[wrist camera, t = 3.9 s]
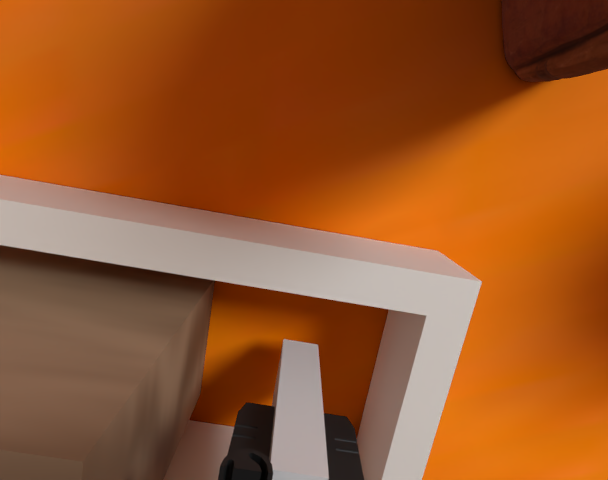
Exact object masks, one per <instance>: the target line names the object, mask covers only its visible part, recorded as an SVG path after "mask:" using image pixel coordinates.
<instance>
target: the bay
mask: <svg viewBox="0 0 608 480" xmlns="http://www.w3.org/2000/svg"><path fill="white" fill-rule="evenodd" d="M0 245H4V246H10V247H16V248H22V249H28V250H34V251H40V252H46V253H52V254H58V255H64V256H70V257H76V258H82V259H88V260H94V261H100V262H106V263H112V264H118V265H124V266H130V267H136V268H143V269H149V270H155V271H161V272H167V273H173V274H179V275H185V276H191V277H197V278H203V279H209V280H215V281H221V282H227V283H233V284H239V285H245V286H251V287H257V288H263V289H269V290H275V291H281V292H287V293H293V294H299V295H305V296H311V297H317V298H323V299H329V300H336V301H342V302H348V303H354V304H360V305H366V306H372V307H378V308H384V309H389V311H388V315H387V319H386V323H385V327H384V331H383V335H382V339H381V343H380V347H379V351H378V355H377V359H376V363H375V367H374V371H373V375H372V379H371V383H370V387H369V391H368V395H367V399H366V403H365V408H364V412H363V416H362V420H361V424H360V428H359V432H358V436H357V445H358V450H359V455H360V460H361V466H362V471H363V476H364V480H422V477H423V474H424V470H425V467H426V464H427V460H428V457H429V454H430V451H431V447H432V444H433V441H434V437H435V434H436V431H437V428H438V424H439V421H440V418H441V414H442V411H443V408H444V405H445V401H446V398H447V395H448V391H449V388H450V385H451V382H452V378H453V375H454V372H455V368H456V365H457V362H458V359H459V355H460V352H461V349H462V345H463V342H464V339H465V336H466V332H467V329H468V326H469V322H470V319H471V316H472V313H473V309H474V306H475V303H476V299H477V296H478V293H479V290H480V286H481V283H482V281H480V280H479V279H477V278H476V277H475V276H473V275H472V274H470V273H469V272H467V271H466V270H465V269H463V268H462V267H460V266H459V265H457V264H456V263H455V262H453V261H452V260H450V259H449V258H447V257H446V256H445V255H443V254H442V253H440V252H439V251H436V250H430V249H424V248H419V247H413V246H407V245H401V244H396V243H390V242H384V241H378V240H373V239H367V238H361V237H355V236H350V235H344V234H338V233H332V232H327V231H321V230H315V229H309V228H304V227H298V226H292V225H286V224H281V223H275V222H269V221H263V220H257V219H252V218H246V217H240V216H234V215H229V214H223V213H217V212H211V211H206V210H200V209H194V208H188V207H183V206H177V205H171V204H165V203H160V202H154V201H148V200H142V199H137V198H131V197H125V196H119V195H114V194H108V193H102V192H96V191H91V190H85V189H79V188H73V187H68V186H62V185H56V184H50V183H45V182H39V181H33V180H27V179H22V178H16V177H10V176H4V175H0ZM233 430H234V427H232V426H225V425H219V424H212V423H205V422H199V421H192V420H189V421H188V424H187V426H186V428H185V431H184V433H183V435H182V438H181V440H180V442H179V444H178V447H177V449H176V451H175V454H174V456H173V458H172V461H171V463H170V465H169V468H168V470H167V472H166V475H165V477H164V479H163V480H218V476H219V469H220V465H221V463H222V461H223V459H224V458H225V457H226V456H227V454H228V450H229V446H230V442H231V438H232V434H233Z"/></svg>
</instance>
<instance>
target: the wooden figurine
mask: <svg viewBox="0 0 608 480" xmlns="http://www.w3.org/2000/svg"><path fill="white" fill-rule="evenodd" d="M501 3H502V29H503V43H504V54H505V59H506V61H507V63H508V64H509V66H510V67H511V68H512V69H513V70H514V72H515V73H516V75H517V76H518V77H519V78H520V79H522V80H524V81H529V82H539V81H552V80H559V79H562V78H572V77H577V76H581V75H585V74H590V73H593V72H597V71H601V70H605V69H608V0H502V1H501Z"/></svg>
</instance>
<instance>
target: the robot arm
mask: <svg viewBox="0 0 608 480" xmlns="http://www.w3.org/2000/svg"><path fill="white" fill-rule="evenodd" d="M218 480H364V476H363V471H362V466H361V460H360V455H359V450H358V445H357V439H356V434H355V429H354V427H353V426H352V424H351V423H350V421H349V420H348V418H347V417H345V416H339V415H332V414H326V413H324V411H323V399H322V387H321V374H320V362H319V350H318V344H311V343H305V342H299V341H293V340H287V339H283V345H282V350H281V356H280V361H279V367H278V372H277V378H276V383H275V388H274V394H273V402H272V406H267V405H260V404H254V403H246V404H245V405H244V406H243V407H242V408H241V409H240V410H239V411H238V415H237V418H236V422H235V426H234V430H233V434H232V438H231V442H230V446H229V450H228V454H227V456H226V457H225V458H224V459H223V461H222V463H221V465H220V469H219V476H218Z"/></svg>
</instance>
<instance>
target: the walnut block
mask: <svg viewBox="0 0 608 480" xmlns="http://www.w3.org/2000/svg"><path fill="white" fill-rule="evenodd" d="M214 283H215V280H209V279H203V278H197V277H191V276H185V275H179V274H173V273H167V272H161V271H155V270H149V269H143V268H136V267H130V266H124V265H118V264H112V263H106V262H100V261H94V260H88V259H82V258H76V257H70V256H64V255H58V254H52V253H46V252H40V251H34V250H28V249H22V248H16V247H10V246H4V245H0V480H163V479H164V477H165V475H166V472H167V470H168V468H169V465H170V463H171V461H172V458H173V456H174V454H175V451H176V449H177V447H178V444H179V442H180V440H181V438H182V435H183V433H184V431H185V428H186V426H187V424H188V421H189V419H190V417H191V414H192V412H193V410H194V408H195V405H196V403H197V401H198V398H199V396H200V392H201V384H202V377H203V369H204V361H205V353H206V345H207V338H208V330H209V322H210V314H211V307H212V299H213V291H214Z"/></svg>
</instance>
